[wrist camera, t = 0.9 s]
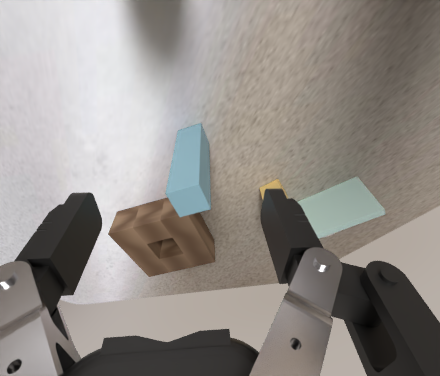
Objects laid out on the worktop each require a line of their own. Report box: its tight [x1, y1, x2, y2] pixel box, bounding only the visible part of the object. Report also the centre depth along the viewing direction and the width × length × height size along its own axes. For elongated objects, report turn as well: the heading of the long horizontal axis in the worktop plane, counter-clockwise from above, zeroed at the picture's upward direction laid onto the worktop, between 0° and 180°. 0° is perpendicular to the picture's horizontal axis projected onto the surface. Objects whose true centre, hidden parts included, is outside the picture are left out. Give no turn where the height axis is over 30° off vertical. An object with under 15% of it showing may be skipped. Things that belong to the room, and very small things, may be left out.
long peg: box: [165, 123, 211, 217], centre depth 25 cm, size 3×3×12 cm
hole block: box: [108, 198, 215, 277], centre depth 38 cm, size 12×12×4 cm
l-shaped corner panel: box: [297, 177, 385, 239], centre depth 38 cm, size 12×12×8 cm
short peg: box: [260, 179, 288, 199], centre depth 34 cm, size 3×3×6 cm
